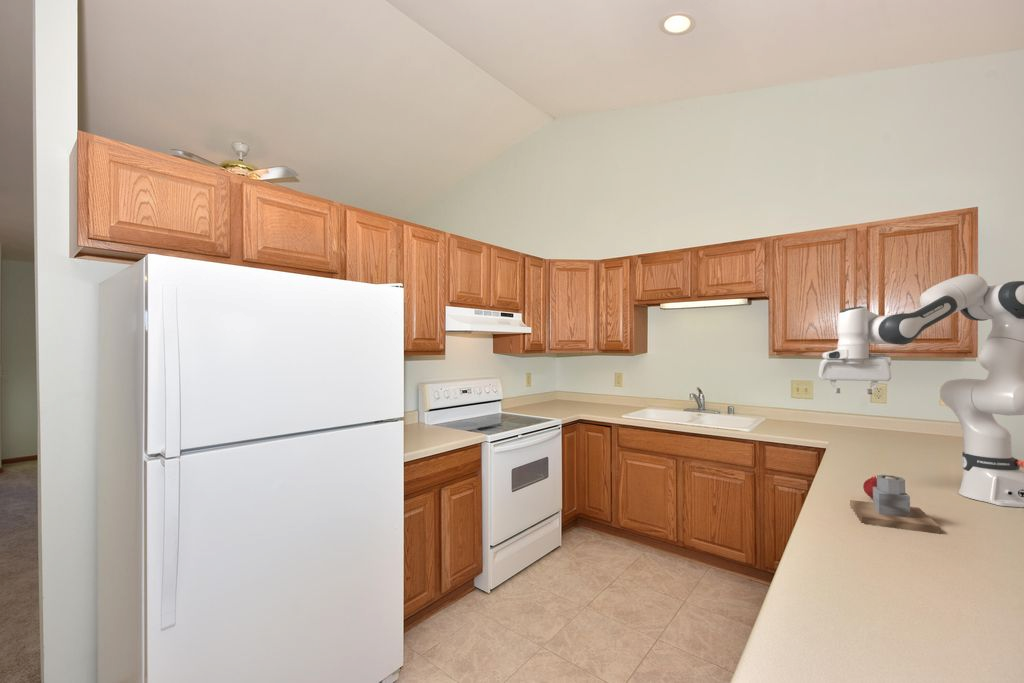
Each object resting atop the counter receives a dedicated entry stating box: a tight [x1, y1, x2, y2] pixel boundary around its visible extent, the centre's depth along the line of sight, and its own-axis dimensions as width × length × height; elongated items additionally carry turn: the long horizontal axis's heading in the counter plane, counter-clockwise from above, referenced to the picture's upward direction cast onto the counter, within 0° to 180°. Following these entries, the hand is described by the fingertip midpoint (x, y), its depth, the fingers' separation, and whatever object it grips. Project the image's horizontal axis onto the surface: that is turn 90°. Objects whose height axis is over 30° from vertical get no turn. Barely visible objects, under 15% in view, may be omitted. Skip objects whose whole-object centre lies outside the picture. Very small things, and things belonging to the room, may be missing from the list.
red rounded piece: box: [862, 474, 877, 500], centre depth 153 cm, size 6×6×8 cm
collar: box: [876, 474, 906, 495], centre depth 136 cm, size 6×6×4 cm
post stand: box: [849, 477, 941, 534], centre depth 136 cm, size 17×16×12 cm
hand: (853, 393), depth 160 cm, fingers open, 8 cm apart
